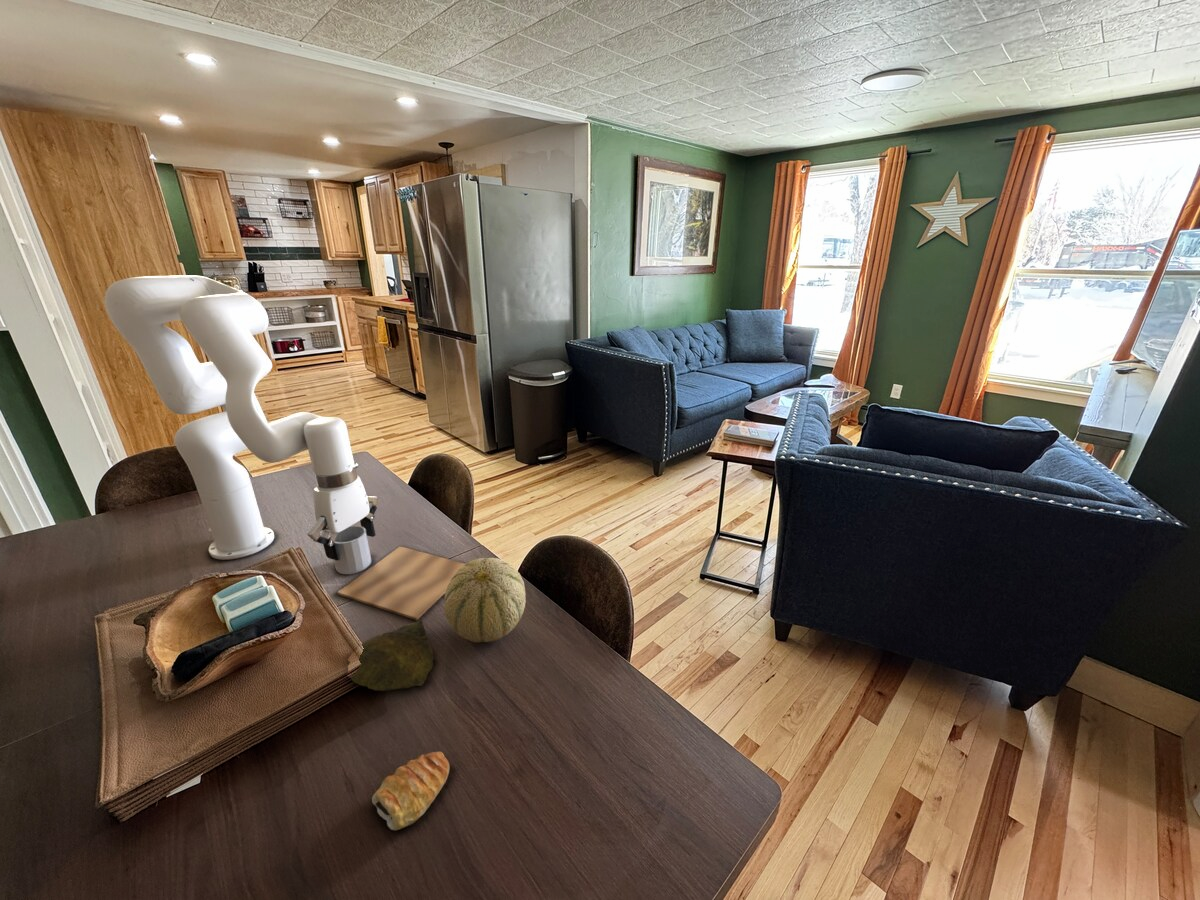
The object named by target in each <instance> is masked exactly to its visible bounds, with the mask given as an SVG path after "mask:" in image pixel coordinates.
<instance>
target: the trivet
mask: <svg viewBox="0 0 1200 900" xmlns="http://www.w3.org/2000/svg"><path fill="white" fill-rule="evenodd" d="M465 564H466V563H463V562H460V561H457V560H452V559H448V558H445V557H442V556H438V555H434V554H431V553H427V552H423V551H419V550H415V549H412V548H408V547H405V546H402V545H399V546H398V547H397V548H396V549H394V550H393V551H391V552H390V553H389V554H387V555H386V556H384V557H383V558H382V559H381V560H379V561H378V562H376V563H375V564H374V565H371V567H369V568H368V569H367V570H366V571H364V572H363V573H361V574H360V575H359V576H358V577H355V578H354V579H353V580H352V581H351V582H349V583H347V584H346V585H345V586H344V587H343V588H341V589H340V590H338V591H337V595H339V596H342V597H345V598H347V599H351V600H353V601H357V602H360V603H363V604H365V605H369V606H371V607H375V608H378V609H381V610H384V611H388V612H390V613H394V614H396V615H400V616H402V617H406V618H408V619H412V620H414V621H419V619H420V618H421V617H422V616H423V615H424V614H425V613H426V612H427V611H428V610H429V609H430V608H432V607H433V606H434V605H435V604H436V603H437V601H438V600H440V599H441V598H442V597H443V596H445V593H446V589H447V586H448V584H449V583H450V581H451V579H452V578H453V576H454V575H455V574H456V572H457V571H458V570H459V569H460V568H461V567H463V566H464V565H465Z"/></svg>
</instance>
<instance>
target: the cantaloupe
mask: <svg viewBox="0 0 1200 900" xmlns="http://www.w3.org/2000/svg"><path fill="white" fill-rule="evenodd" d="M464 564H465V565H464V566H463V567H461V568H460V569H459V570H458V571H457V572H456V574H455V575H454V576H453V578H452V579H451V581H450V583H449V584H448V586H447V589H446V593H445V594H444V601H443V603H444V615H445V619H446V621H447V623H448V624H449V626H450V628H451V630H452V631H453V632H454V633H456V634H457V635H459V636H460V637H461V638H463V639H465V640H467V641H470V642H473V643H482V642H484V643H488V642H495V641H497V640H501V638H504V637H506V636H507V635H509V633H511V632H512V631H513V630H514V629H515V628H516V626H517V625H518V623H519V622H520V620H521V618H522V617H523V614H524V612H525V608H526V603H527V602H526V601H527V600H526V599H527V597H526V587H525V582H524V580H523V577H522V575H521V573H520V572H519V571H518V570H517V568H515V567H514V566H513V565H512V564H510V563H509V562H507V561H505V560H503V559H500V558H497V557H480V558H476V559H472V560H470V561H469V562H466V563H464Z"/></svg>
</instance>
